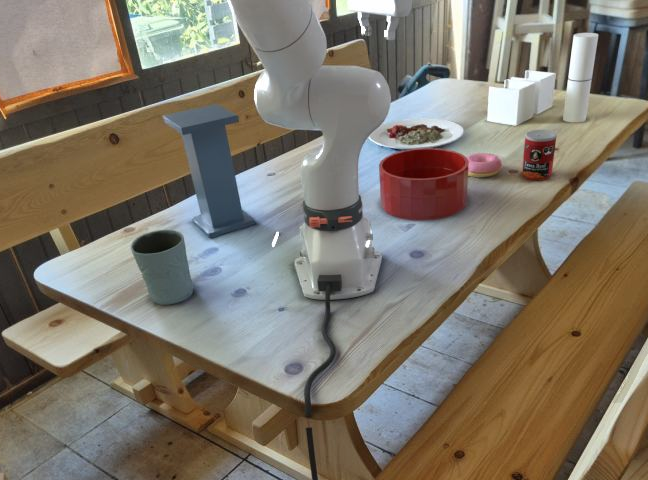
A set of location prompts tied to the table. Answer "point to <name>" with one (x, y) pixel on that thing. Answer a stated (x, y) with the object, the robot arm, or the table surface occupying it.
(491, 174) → the doughnut
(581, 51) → the cylindrical container
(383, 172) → the pot
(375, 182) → the table surface
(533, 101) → the storage container
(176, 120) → the stand
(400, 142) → the plated food
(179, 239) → the green cup
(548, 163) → the canned food
